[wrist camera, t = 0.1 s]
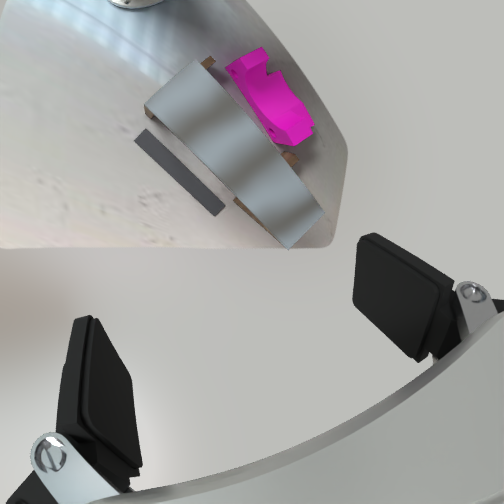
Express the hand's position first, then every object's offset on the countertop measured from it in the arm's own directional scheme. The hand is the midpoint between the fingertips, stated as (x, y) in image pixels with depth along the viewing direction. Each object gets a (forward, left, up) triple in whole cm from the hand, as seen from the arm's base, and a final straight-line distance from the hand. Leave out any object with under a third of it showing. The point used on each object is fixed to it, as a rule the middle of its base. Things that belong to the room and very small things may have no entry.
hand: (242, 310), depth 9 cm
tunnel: (+3, +9, -37) cm, 38 cm away
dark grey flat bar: (+3, +1, -37) cm, 37 cm away
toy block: (+3, +19, -38) cm, 42 cm away
